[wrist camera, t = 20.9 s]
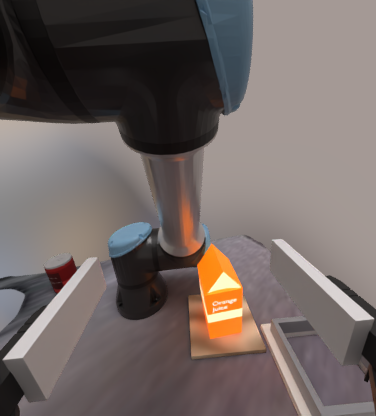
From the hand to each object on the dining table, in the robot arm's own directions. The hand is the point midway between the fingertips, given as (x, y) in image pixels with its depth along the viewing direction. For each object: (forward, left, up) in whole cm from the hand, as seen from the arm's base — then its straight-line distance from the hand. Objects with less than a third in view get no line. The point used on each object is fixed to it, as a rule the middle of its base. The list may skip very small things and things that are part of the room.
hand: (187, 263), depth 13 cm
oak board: (-21, +7, -35) cm, 41 cm away
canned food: (-39, -43, -35) cm, 68 cm away
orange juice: (-21, +7, -33) cm, 40 cm away
